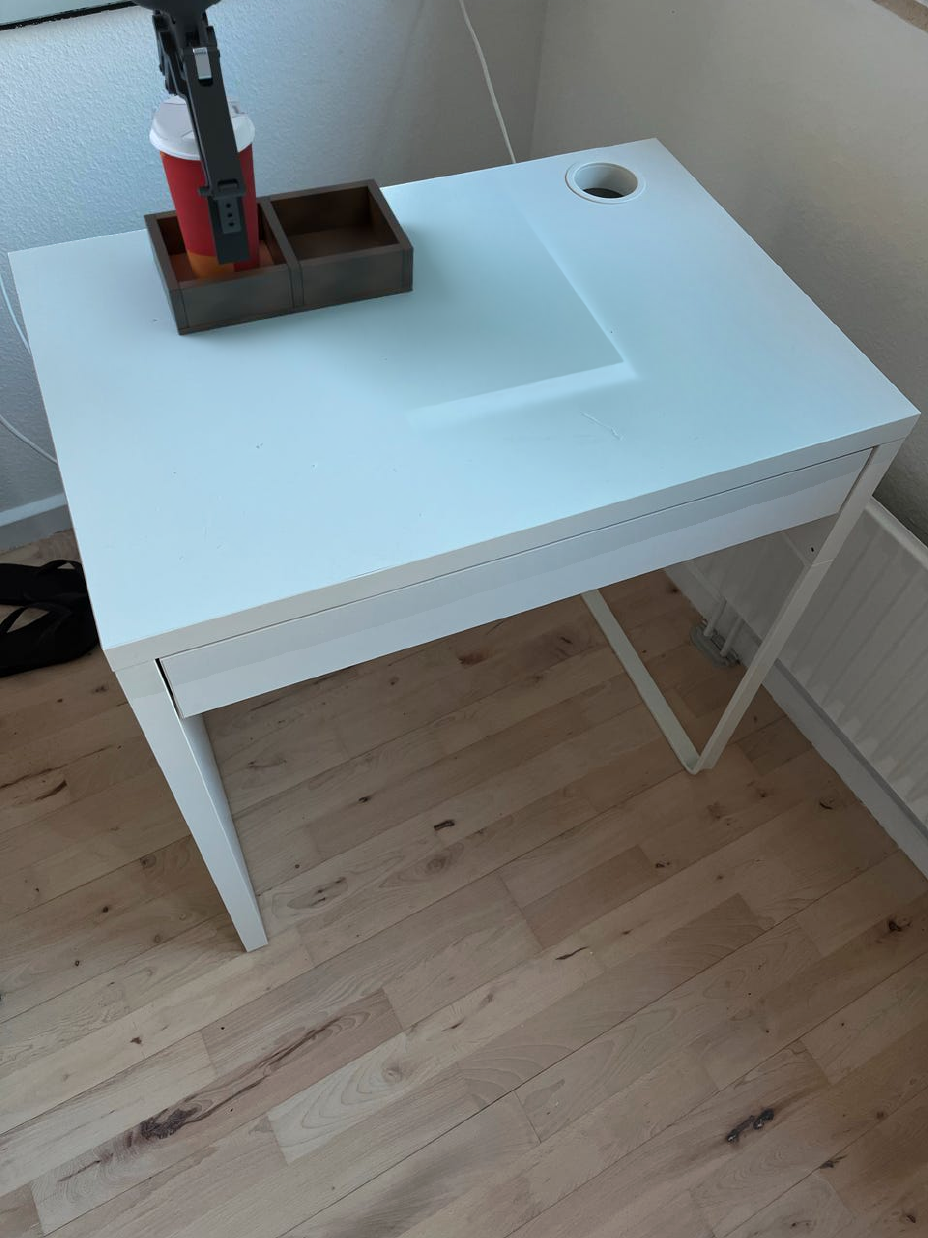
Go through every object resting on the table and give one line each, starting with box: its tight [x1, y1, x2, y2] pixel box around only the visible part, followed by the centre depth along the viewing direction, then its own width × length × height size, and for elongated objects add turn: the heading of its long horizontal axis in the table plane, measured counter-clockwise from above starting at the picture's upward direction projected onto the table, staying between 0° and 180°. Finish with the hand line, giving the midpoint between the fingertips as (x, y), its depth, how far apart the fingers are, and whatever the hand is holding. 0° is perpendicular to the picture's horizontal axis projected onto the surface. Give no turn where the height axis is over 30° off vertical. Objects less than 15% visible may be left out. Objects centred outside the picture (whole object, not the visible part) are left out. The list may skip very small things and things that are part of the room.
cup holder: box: [143, 178, 414, 336], centre depth 87 cm, size 22×12×5 cm, turn 111°
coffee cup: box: [148, 94, 260, 279], centre depth 81 cm, size 8×8×15 cm
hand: (215, 214), depth 82 cm, fingers open, 13 cm apart
